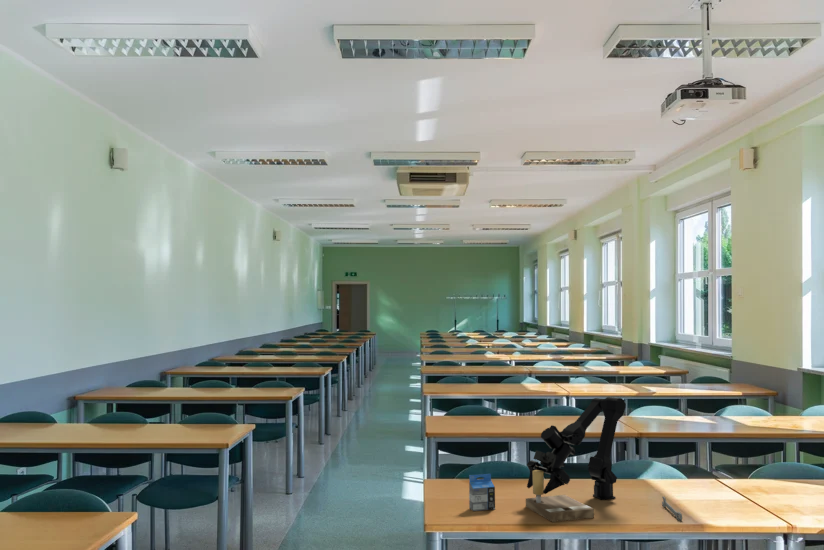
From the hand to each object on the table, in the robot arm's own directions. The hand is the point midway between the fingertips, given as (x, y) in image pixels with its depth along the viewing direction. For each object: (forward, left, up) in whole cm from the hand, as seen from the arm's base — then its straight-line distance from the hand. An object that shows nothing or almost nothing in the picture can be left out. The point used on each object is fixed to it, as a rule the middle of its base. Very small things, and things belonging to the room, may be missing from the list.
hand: (535, 490), depth 248 cm
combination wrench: (-45, +18, -8) cm, 49 cm away
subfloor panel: (-7, +4, -7) cm, 11 cm away
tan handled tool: (-1, 0, -7) cm, 7 cm away
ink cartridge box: (+18, -8, -7) cm, 21 cm away
